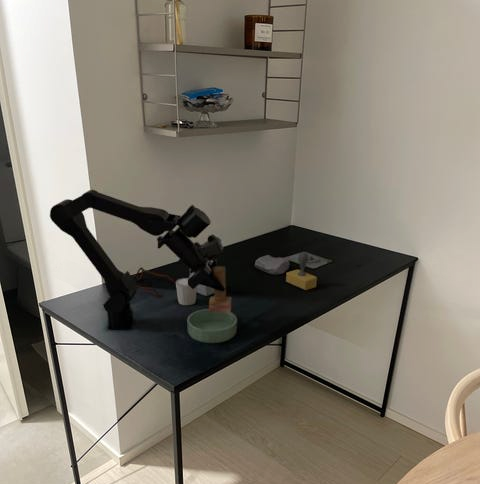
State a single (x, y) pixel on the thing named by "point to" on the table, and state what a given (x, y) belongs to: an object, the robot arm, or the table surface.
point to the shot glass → (185, 292)
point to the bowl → (211, 326)
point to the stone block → (272, 264)
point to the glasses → (150, 273)
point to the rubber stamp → (301, 275)
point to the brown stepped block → (220, 293)
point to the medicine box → (204, 290)
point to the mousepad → (310, 260)
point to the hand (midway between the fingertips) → (224, 288)
